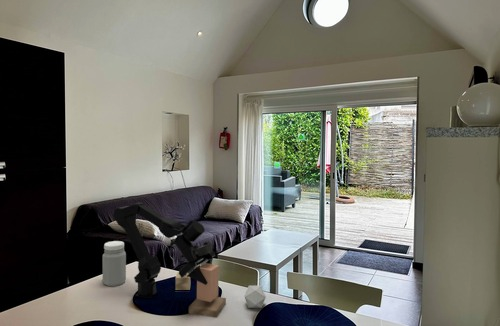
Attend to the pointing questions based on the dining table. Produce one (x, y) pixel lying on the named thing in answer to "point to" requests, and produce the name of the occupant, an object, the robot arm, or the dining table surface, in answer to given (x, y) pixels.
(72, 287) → the dining table surface
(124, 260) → the jar
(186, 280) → the oak cube
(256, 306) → the die
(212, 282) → the pillar
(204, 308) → the slab
